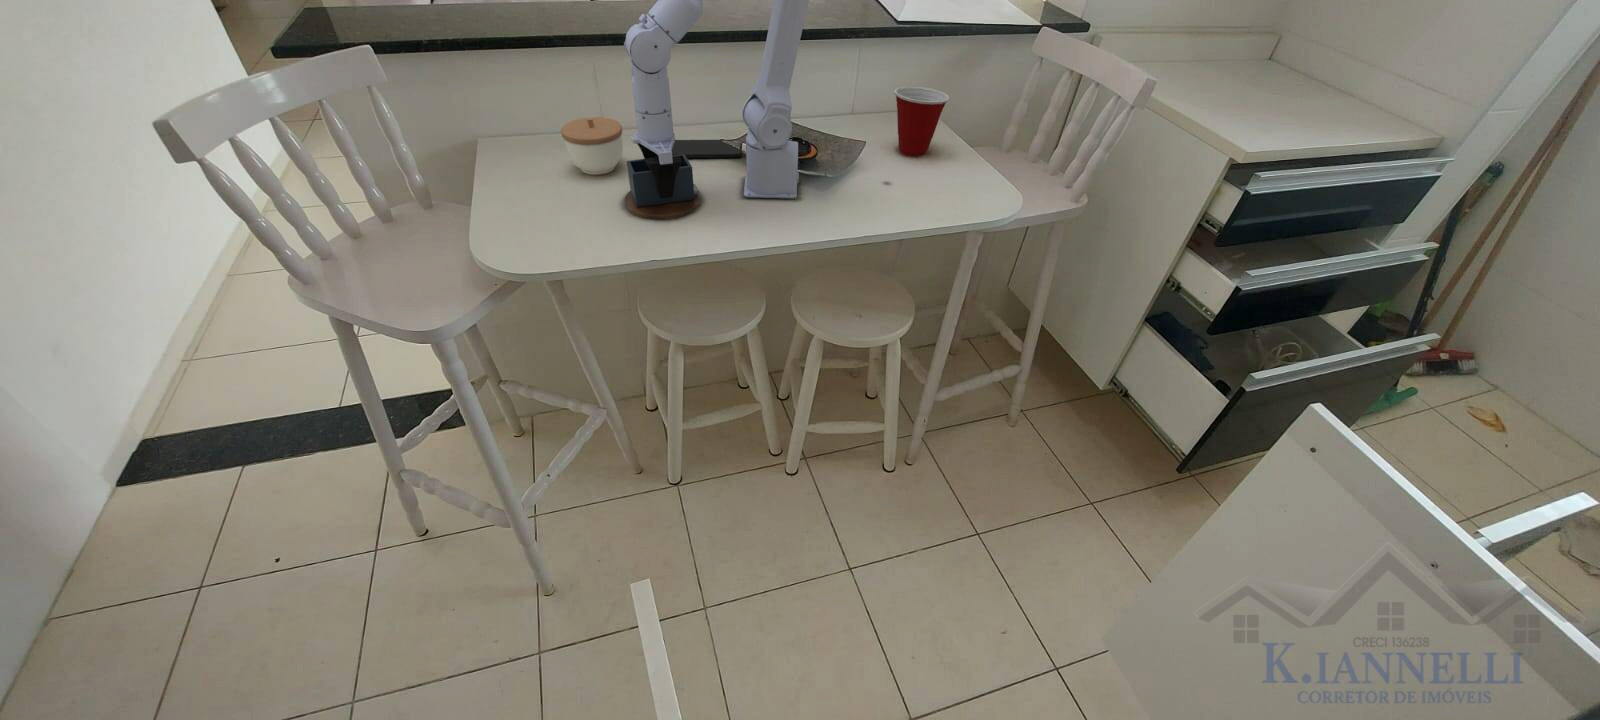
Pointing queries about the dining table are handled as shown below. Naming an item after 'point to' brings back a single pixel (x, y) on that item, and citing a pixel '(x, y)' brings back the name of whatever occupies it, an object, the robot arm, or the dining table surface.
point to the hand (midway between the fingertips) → (661, 187)
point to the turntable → (663, 208)
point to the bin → (646, 186)
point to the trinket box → (594, 144)
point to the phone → (704, 149)
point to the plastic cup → (917, 118)
